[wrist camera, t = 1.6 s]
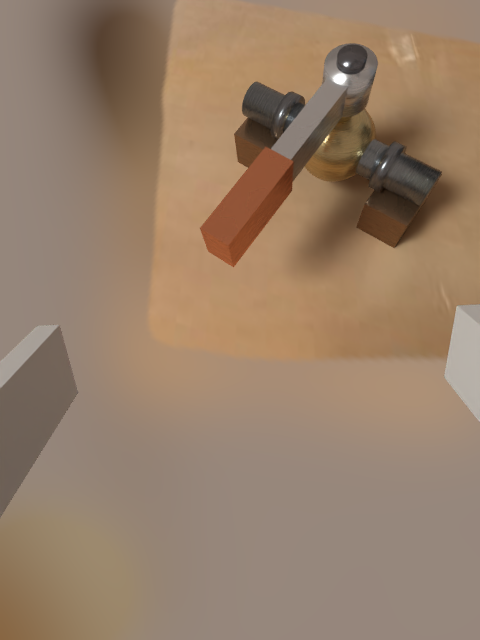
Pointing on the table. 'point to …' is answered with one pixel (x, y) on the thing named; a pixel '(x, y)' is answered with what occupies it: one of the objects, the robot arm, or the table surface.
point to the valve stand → (344, 159)
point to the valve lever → (290, 153)
